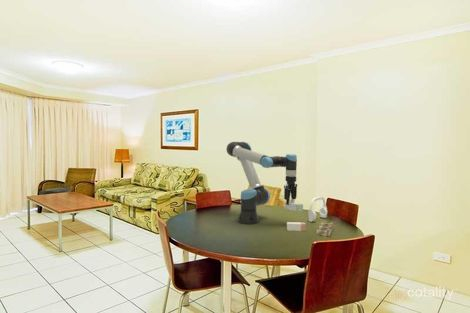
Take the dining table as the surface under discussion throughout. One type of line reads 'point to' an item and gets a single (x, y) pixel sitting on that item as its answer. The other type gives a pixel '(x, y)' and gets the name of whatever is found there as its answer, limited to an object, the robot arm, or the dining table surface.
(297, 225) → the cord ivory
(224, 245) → the dining table surface
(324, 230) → the comb rack
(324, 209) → the headset
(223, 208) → the dining table surface
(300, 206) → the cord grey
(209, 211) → the dining table surface
